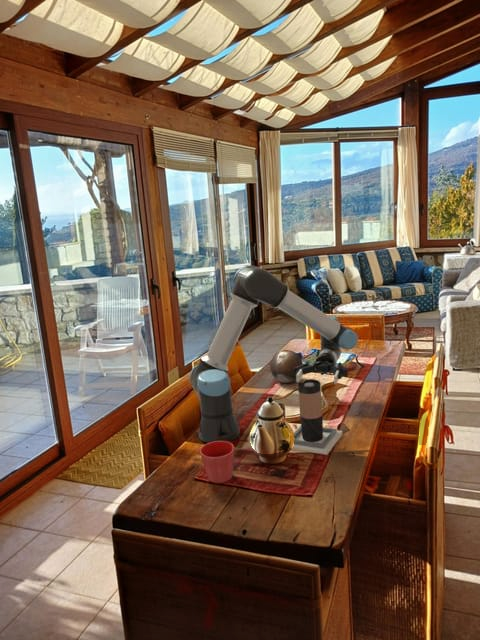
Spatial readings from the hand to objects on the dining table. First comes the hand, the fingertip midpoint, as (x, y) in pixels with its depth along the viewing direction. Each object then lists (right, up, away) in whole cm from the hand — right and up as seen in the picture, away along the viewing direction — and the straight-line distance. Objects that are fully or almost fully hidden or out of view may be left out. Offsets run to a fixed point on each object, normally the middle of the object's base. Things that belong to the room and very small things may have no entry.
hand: (316, 379), depth 185 cm
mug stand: (-2, -21, -5) cm, 21 cm away
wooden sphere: (-5, -8, +55) cm, 56 cm away
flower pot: (-33, -28, -23) cm, 49 cm away
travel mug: (-2, -20, -5) cm, 20 cm away
